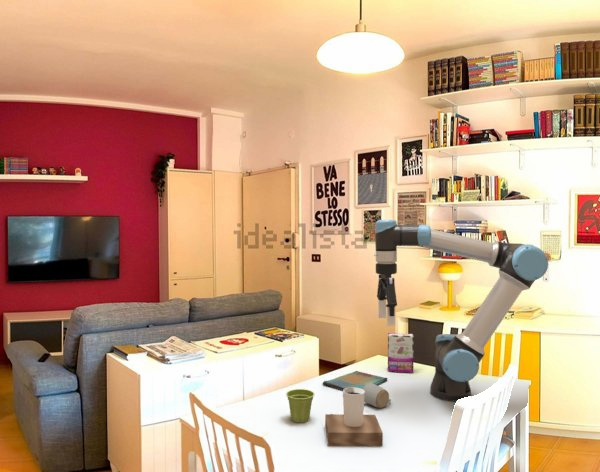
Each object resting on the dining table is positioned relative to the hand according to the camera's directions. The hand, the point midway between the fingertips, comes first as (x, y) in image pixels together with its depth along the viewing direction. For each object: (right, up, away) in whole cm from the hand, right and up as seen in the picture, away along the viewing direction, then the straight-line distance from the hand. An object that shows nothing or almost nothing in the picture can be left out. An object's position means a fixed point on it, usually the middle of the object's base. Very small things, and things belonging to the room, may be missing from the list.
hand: (386, 321), depth 186 cm
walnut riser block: (-15, -31, -27) cm, 44 cm away
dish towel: (-9, -30, +24) cm, 39 cm away
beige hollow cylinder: (-15, -27, -27) cm, 41 cm away
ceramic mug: (-3, -30, 0) cm, 30 cm away
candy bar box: (+13, -29, +41) cm, 52 cm away
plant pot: (-31, -30, -14) cm, 46 cm away
